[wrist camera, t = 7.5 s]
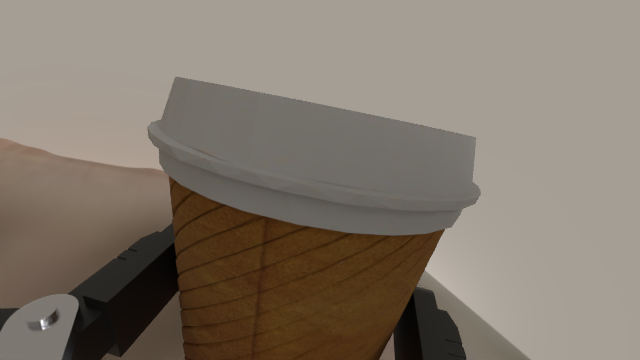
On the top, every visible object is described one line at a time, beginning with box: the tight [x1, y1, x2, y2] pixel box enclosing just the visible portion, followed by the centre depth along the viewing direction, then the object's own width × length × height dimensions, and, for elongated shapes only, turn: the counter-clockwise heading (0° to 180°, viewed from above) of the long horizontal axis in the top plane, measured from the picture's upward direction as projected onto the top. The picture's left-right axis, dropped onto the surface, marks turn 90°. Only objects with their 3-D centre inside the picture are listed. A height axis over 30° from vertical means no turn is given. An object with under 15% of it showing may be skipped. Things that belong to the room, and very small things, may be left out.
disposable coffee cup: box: [148, 77, 481, 360], centre depth 10 cm, size 10×10×12 cm
